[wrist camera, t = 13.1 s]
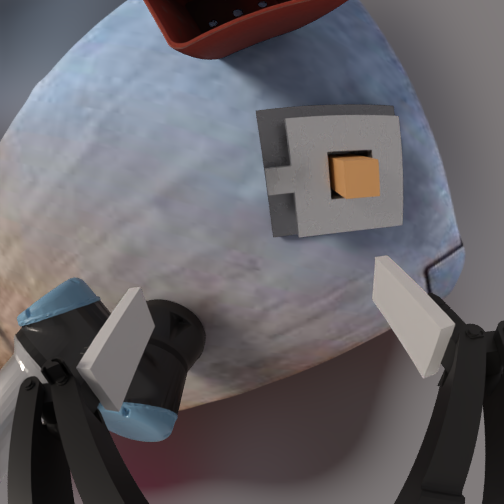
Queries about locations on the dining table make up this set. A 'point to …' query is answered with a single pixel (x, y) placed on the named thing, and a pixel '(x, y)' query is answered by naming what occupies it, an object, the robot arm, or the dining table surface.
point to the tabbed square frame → (317, 171)
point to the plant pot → (231, 22)
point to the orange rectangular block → (354, 175)
